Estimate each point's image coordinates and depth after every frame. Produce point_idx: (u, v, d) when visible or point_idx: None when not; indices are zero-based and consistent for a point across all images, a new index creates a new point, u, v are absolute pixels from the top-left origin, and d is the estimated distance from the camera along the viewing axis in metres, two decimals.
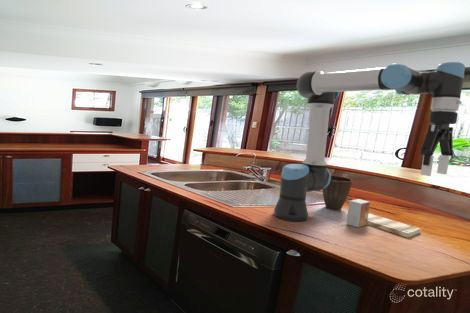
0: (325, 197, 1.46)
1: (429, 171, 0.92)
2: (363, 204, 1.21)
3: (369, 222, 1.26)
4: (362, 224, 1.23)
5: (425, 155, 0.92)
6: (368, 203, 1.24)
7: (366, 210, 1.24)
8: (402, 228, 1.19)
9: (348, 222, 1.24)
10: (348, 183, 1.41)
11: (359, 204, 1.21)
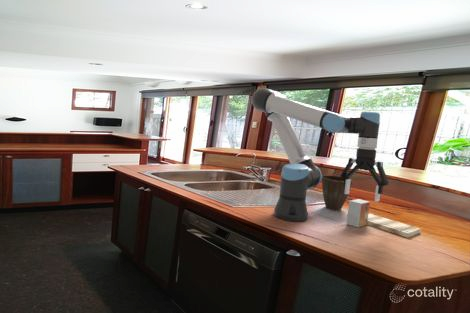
0: (325, 197, 1.46)
1: None
2: (363, 204, 1.21)
3: (369, 222, 1.26)
4: (362, 224, 1.23)
5: None
6: (368, 203, 1.24)
7: (366, 210, 1.24)
8: (402, 228, 1.19)
9: (348, 222, 1.24)
10: None
11: (359, 204, 1.21)
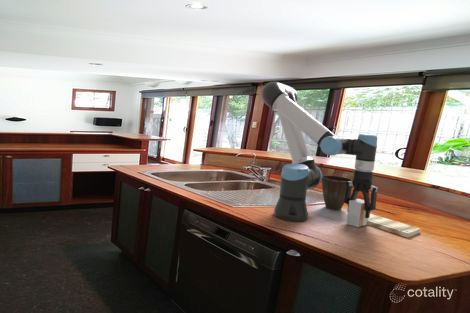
0: (325, 197, 1.46)
1: None
2: (363, 204, 1.21)
3: (369, 222, 1.26)
4: None
5: None
6: None
7: None
8: (402, 228, 1.19)
9: (348, 222, 1.24)
10: None
11: (359, 204, 1.21)
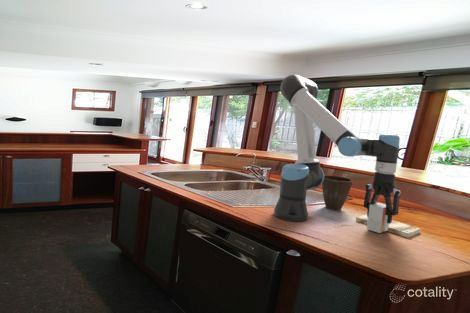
0: (325, 197, 1.46)
1: None
2: (385, 208, 1.14)
3: None
4: None
5: None
6: None
7: None
8: (402, 228, 1.19)
9: (368, 227, 1.18)
10: (348, 183, 1.41)
11: (381, 208, 1.14)
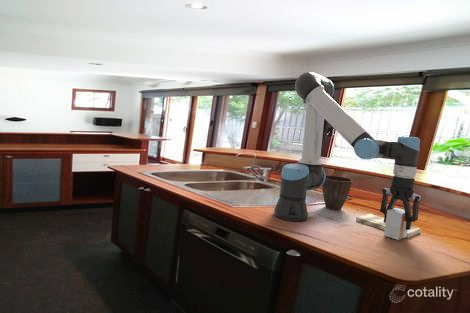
0: (325, 197, 1.46)
1: None
2: (404, 214, 1.09)
3: (369, 222, 1.26)
4: None
5: None
6: None
7: None
8: None
9: (386, 234, 1.12)
10: (348, 183, 1.41)
11: (399, 214, 1.08)
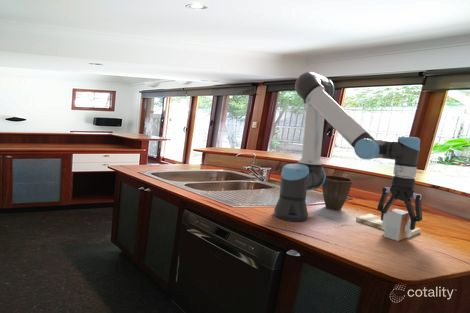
0: (325, 197, 1.46)
1: None
2: (403, 215, 1.09)
3: (369, 222, 1.26)
4: (402, 237, 1.11)
5: None
6: (408, 214, 1.12)
7: (406, 221, 1.11)
8: None
9: (386, 235, 1.12)
10: (348, 183, 1.41)
11: (399, 215, 1.08)
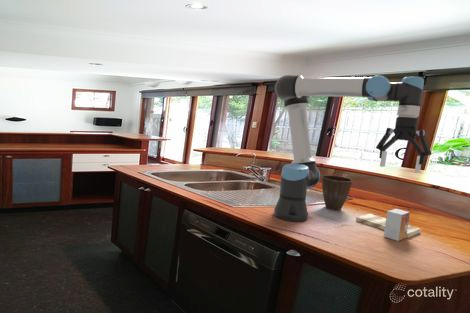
0: (325, 197, 1.46)
1: None
2: (403, 215, 1.09)
3: (369, 222, 1.26)
4: (402, 237, 1.11)
5: None
6: (408, 214, 1.12)
7: (406, 221, 1.11)
8: None
9: (386, 235, 1.12)
10: (348, 183, 1.41)
11: (399, 215, 1.08)
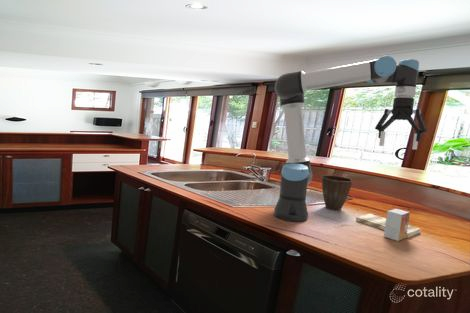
0: (325, 197, 1.46)
1: None
2: (403, 215, 1.09)
3: (369, 222, 1.26)
4: (402, 237, 1.11)
5: None
6: (408, 214, 1.12)
7: (406, 221, 1.11)
8: None
9: (386, 235, 1.12)
10: (348, 183, 1.41)
11: (399, 215, 1.08)
